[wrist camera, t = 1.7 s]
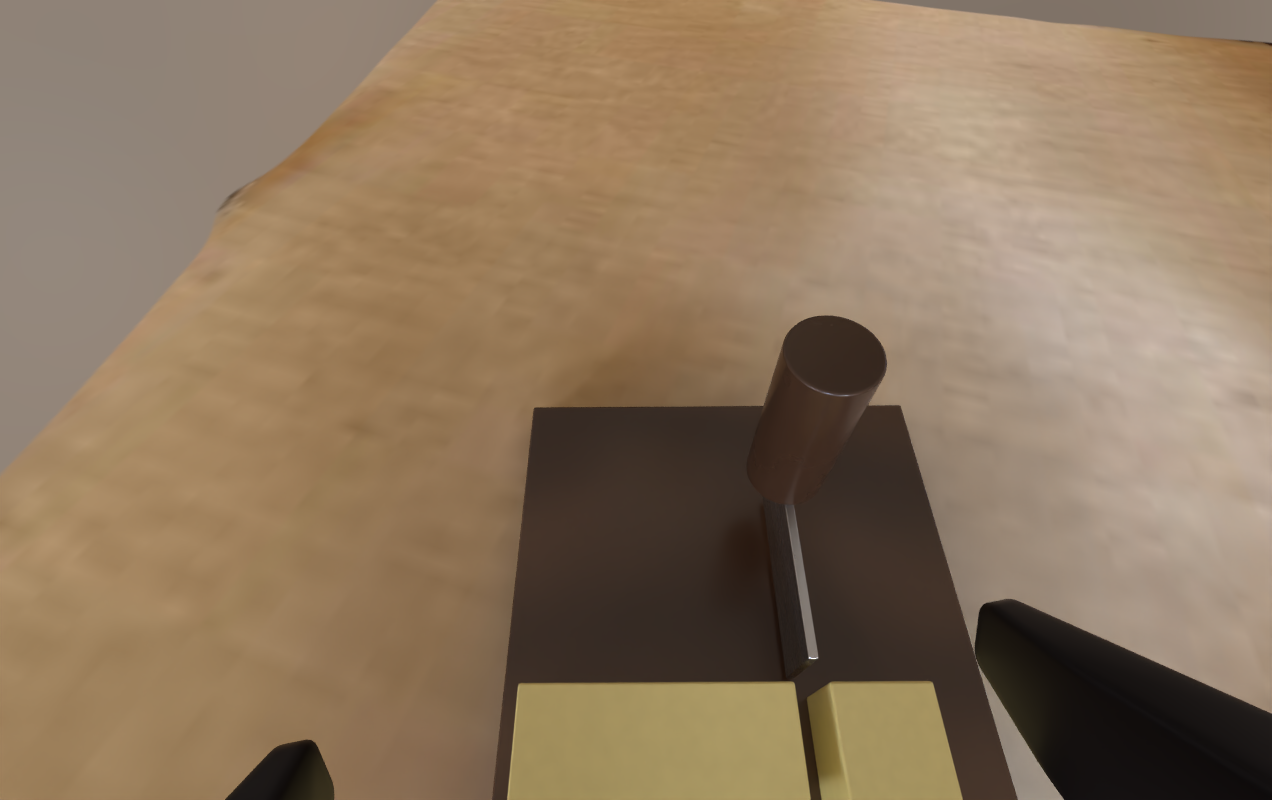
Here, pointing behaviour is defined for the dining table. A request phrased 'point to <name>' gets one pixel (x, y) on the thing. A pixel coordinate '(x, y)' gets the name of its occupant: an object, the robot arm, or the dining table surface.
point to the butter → (658, 742)
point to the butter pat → (881, 742)
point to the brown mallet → (807, 451)
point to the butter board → (734, 571)
